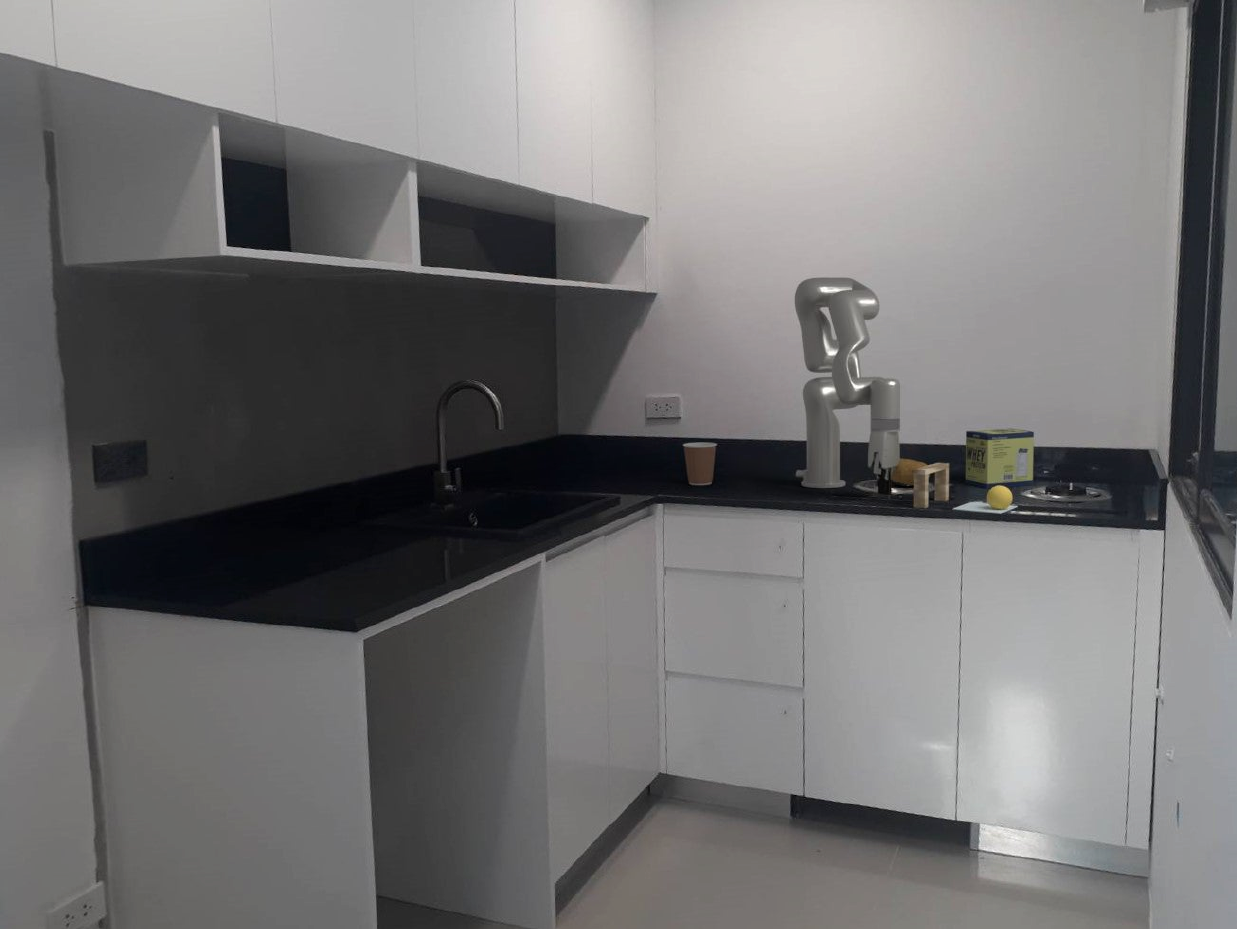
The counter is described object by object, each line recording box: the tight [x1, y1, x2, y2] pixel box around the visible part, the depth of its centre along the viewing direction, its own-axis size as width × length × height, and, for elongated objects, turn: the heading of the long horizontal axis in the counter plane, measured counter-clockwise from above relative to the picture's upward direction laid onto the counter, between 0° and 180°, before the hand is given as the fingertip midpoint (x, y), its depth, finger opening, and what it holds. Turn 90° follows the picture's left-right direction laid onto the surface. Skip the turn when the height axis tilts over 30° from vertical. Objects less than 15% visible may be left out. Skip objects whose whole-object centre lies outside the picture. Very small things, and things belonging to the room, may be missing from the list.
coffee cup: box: [682, 442, 718, 486], centre depth 316 cm, size 10×10×12 cm
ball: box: [986, 486, 1013, 510], centre depth 258 cm, size 6×6×6 cm
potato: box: [892, 457, 931, 485], centre depth 298 cm, size 10×14×8 cm
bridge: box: [913, 462, 950, 509], centre depth 269 cm, size 3×15×10 cm, turn 140°
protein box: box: [965, 428, 1035, 490], centre depth 297 cm, size 10×16×16 cm
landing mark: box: [951, 501, 1018, 515], centre depth 261 cm, size 12×12×1 cm
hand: (884, 493), depth 278 cm, fingers closed
